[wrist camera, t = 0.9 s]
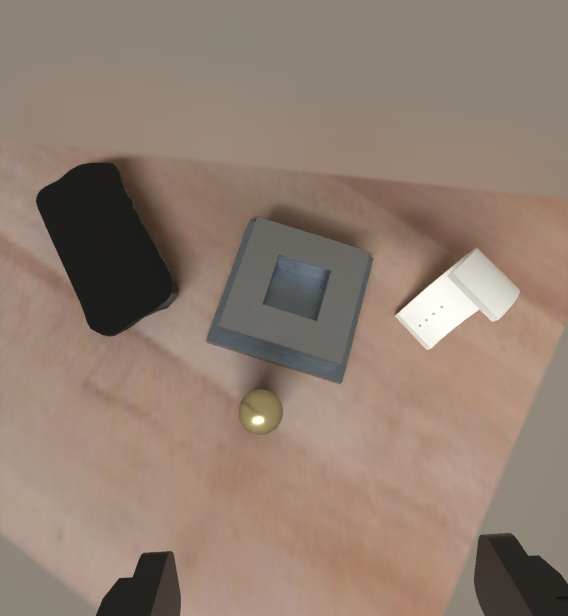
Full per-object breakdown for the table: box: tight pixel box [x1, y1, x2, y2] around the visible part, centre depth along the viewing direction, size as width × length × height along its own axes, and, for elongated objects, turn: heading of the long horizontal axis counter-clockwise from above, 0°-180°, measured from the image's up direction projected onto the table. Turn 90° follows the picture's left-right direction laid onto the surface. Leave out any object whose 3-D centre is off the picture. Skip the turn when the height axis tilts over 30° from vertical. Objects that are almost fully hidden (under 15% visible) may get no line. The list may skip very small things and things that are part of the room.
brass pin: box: [239, 390, 283, 435], centre depth 33 cm, size 3×3×10 cm
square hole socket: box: [206, 216, 373, 384], centre depth 39 cm, size 13×13×4 cm
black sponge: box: [36, 163, 178, 336], centre depth 39 cm, size 16×8×4 cm, turn 29°
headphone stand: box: [395, 248, 520, 350], centre depth 36 cm, size 5×6×12 cm
